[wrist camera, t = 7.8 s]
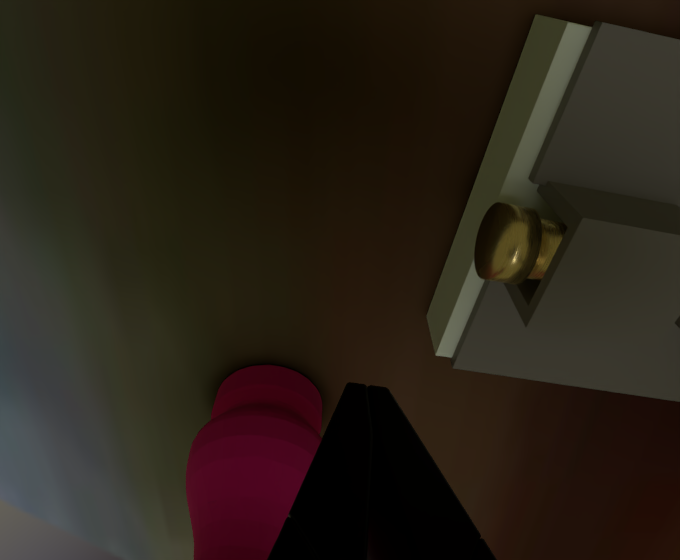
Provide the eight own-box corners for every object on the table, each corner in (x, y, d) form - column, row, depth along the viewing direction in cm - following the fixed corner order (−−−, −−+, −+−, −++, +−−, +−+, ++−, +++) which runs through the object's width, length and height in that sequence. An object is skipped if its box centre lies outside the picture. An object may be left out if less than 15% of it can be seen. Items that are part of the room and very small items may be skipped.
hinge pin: (834, 253, 19) (903, 293, 17) (785, 308, 20) (842, 352, 18) (493, 189, 18) (516, 224, 15) (468, 254, 19) (486, 294, 17)
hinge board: (892, 87, 19) (1118, 138, 13) (681, 359, 26) (768, 461, 21) (537, 8, 17) (627, 27, 12) (425, 318, 25) (447, 416, 20)
